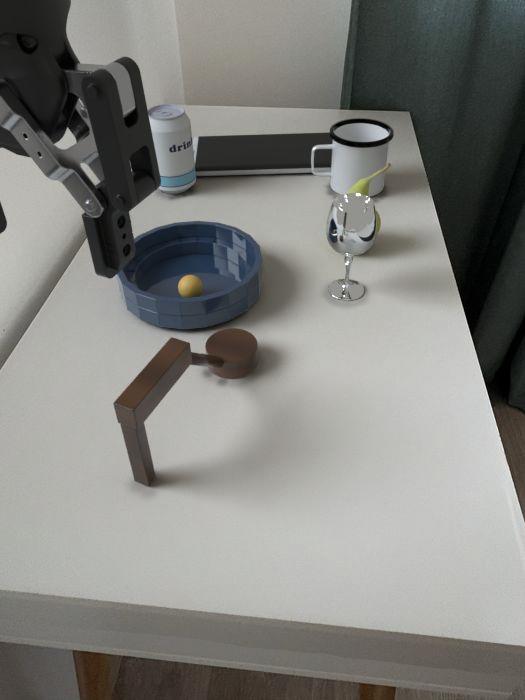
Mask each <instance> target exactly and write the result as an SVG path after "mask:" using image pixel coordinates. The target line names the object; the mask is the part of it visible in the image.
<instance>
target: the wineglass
mask: <svg viewBox="0 0 525 700" xmlns="http://www.w3.org/2000/svg"><path fill="white" fill-rule="evenodd" d="M375 209H376V205H375V201H374V200H373V198H371V197H368V196H366V195H363V194H357V193H347V194H342V195H340V194H338V195H337V196H336V197H335V198H334V199H333V200H332V202H331V206H330V208H329V211H328V214H327V215H328V216H327V220H326V227H325V228H326V229H325V230H326V231H325V232H326V240H327V243H328V244H329V246H330V248H332V250H333V251H335V252H336V253H339V254H341V255H342V256H343V255H345V256H344V259H343V260H344V264H345V275H344V278H339V279H335V280H333V281H331V283H329V285H328V287H327V290H328V291H327V292H328V293H329V295H330V296H332V297H333V298H334V299H337V300H341V301H355V300H358V299H360V298H361V297H362V296H363V295H364V294H365V288H364V286H363V285H362V284H361V282H359V281H357V280H354V279H350V270H351V267H352V264H353V261H354V256H358V255H362V254H363V253H365V252H367V251H368V250H369V249H371V247H373V244H374V242H375V239H376V238H375V236H376V230H377V219H376V211H377V209H376V210H375ZM376 237H377V236H376Z"/></svg>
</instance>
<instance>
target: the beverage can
mask: <svg viewBox="0 0 525 700" xmlns="http://www.w3.org/2000/svg"><path fill="white" fill-rule="evenodd" d="M147 110H148V115H149V120H150V125H151V131H152V136H153V141H154V146H155V151H156V157H157V162H158V167H159V172H160V178H161V185H160V187H159V188H158V189H157V190H160V191H161V192H162V193H165V194H170V195H178V194H182V193H184V192H186V191H188V190H189V189H190V188H191V187H192V186H194V185H195V183H196V181H197V176H196V173H195V162H194V152H193V133H192V122H191V119H190V117H189V116H188V114H187V113H186V109H185V107H183V106H181V105H179V104H175V103H174V104H173V103H164V104H157V105H154V106H152V107H149V108H147Z"/></svg>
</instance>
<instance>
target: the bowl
mask: <svg viewBox="0 0 525 700" xmlns="http://www.w3.org/2000/svg"><path fill="white" fill-rule="evenodd" d="M133 240H134V242H135V247H136V251H135V255H134V257H133V258H132V259H131V260H130V261H129V263H128V264H127V265H126V266H125V267H124V268H123V269H122V270H121V271H120V272H119V273H118V274H116V275H115V276H116V279H117V284H118V288H119V293H120V298H121V300H122V302H123V304H124V306H125V308H126V310H127V311H129V312H130V313H132V314H133V315H134V316H135V317H136V318H138V319H139V320H141V321H143V322H146V323H149V324H150V325H154V326H157V327H160V328H167V329H176V330H177V329H178V330H190V329H191V330H192V329H201V328H202V329H204V328H209V327H212V326H215V325H219V324H221V323H225V322H229V321H231V320H233V319H235V318H236V317H238V316H240V315H241V314H243V313H245V312H247V311H248V310H249V309H250V308H251V307H252V306H253V305H254V303H255V302H256V301H257V300H258V299H259V298H260V295H261V292H262V289H263V286H264V261H263V254H262V249H261V246H260V244H259V243H258V242H257V240H255V238H253V236H252V235H251V234H250V233H247V232H245V231H243V230H242V229H240V228H238V227H236V226H233V225H229V224H226V223H222V222H217V221H204V220H191V221H190V220H189V221H179V222H172V223H168V224H164V225H160V226H156V227H154V228H152V229H150V230H147V231H145V232H142V233H141V234H139V235H137V236H136V237H134V239H133ZM186 275H194V276H197V277H198V278H199V279H200V280H201V281H202V284H203V291H202V293H201V295H200V296H199V297H192V298H183V297H182V296H181V295H180V293H179V290H178V284H179V281H180V280H181V279H182V278H183V277H184V276H186Z"/></svg>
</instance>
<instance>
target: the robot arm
mask: <svg viewBox="0 0 525 700" xmlns="http://www.w3.org/2000/svg"><path fill="white" fill-rule="evenodd" d="M71 6H72V0H0V149H4V150H6V151H9V152H10V153H13V154H14V155H18V156H21V157H26V158H30V159H32V161H33V162H34V163H35V165H36V167H38V169H39V170H40V172H42V174H43V175H44V176H45V177H46V178H47V179H49V180H51V181H58V182H60V183H61V184H62V185H63V186H64V188H66V190H67V191H68V192H69V194H70V195H71V197H73V199H74V200H75V202H76V203H77V204H78V205H79V207H80V208H81V209H82V210H83V213H82V214H81V218H82V222H83V227H84V230H85V231H84V232H85V235H86V239H87V244H88V248H89V253H90V257H91V260H92V265H93V269H94V273H95V274H96V275H97V276H99V277H103V278H107V279H109V280H110V279H113V278H115V277H116V276H117V275H116V274H118V273H119V272H120V271H121V270H122V269H123V268H124V267H125V266H126V265H127V264H128V263H129V261H130V260H131V259H132V258H133V257H134V255H135V251H136V247H135V242H134V240H133V239H134V238H135V237H134V233H133V226H132V220H131V215H130V211H132V210H133V209H135V207H137V206H138V205H139V204H140V203H142V202H143V201H144V200H146V199H147V198H148V197H149V196H150V195H152V194H153V193H154V192H156V191H157V190H159V189H158V188H159V187H160V185H161V178H160V172H159V167H158V162H157V157H156V151H155V146H154V141H153V136H152V131H151V125H150V120H149V115H148V105H147V101H146V94H145V88H144V84H143V78H142V74H141V69H140V67H139V65H138V64H137V62H136V61H135V60H134V59H132V57H129V56H121V57H120V58H117V59H116V60H114V61H112V62H111V61H110V63H107V64H97V63H96V64H94V63H81V62H80V59H79V58H78V57H77V55H76V53H75V51H74V49H73V48H72V46H71V43H70V40H69V37H68V33H67V24H68V18H69V13H70V10H71ZM67 130H69V131H70V132H71V134H72V135H73V137H74V139H75V141H76V143H74V144H73V145H71V146H70V147H68V148H65V149H64V148H60V147H59V146H58V147H57V145H55V144H57V143H59V142H60V141H61V140H62V139H63V138H64V136H65V134H66V132H67ZM81 164H85V165H86V166H87V167H88V168H89V169H90V170H91V172H92V173H93V174H94V175H95V177H96V178H97V180H98V181H99V182H98V183H97V184H95V183H94V181H92V179H91V178H90V177H89V175H88V174H87V173H86V171H85V170H84V169H83V167H82V165H81ZM7 227H8V221H7V217H6V214H5V211H4V208H3V205H2V202H1V201H0V235H1V234H2V233H4V232H5V231H6V230H7Z"/></svg>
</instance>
